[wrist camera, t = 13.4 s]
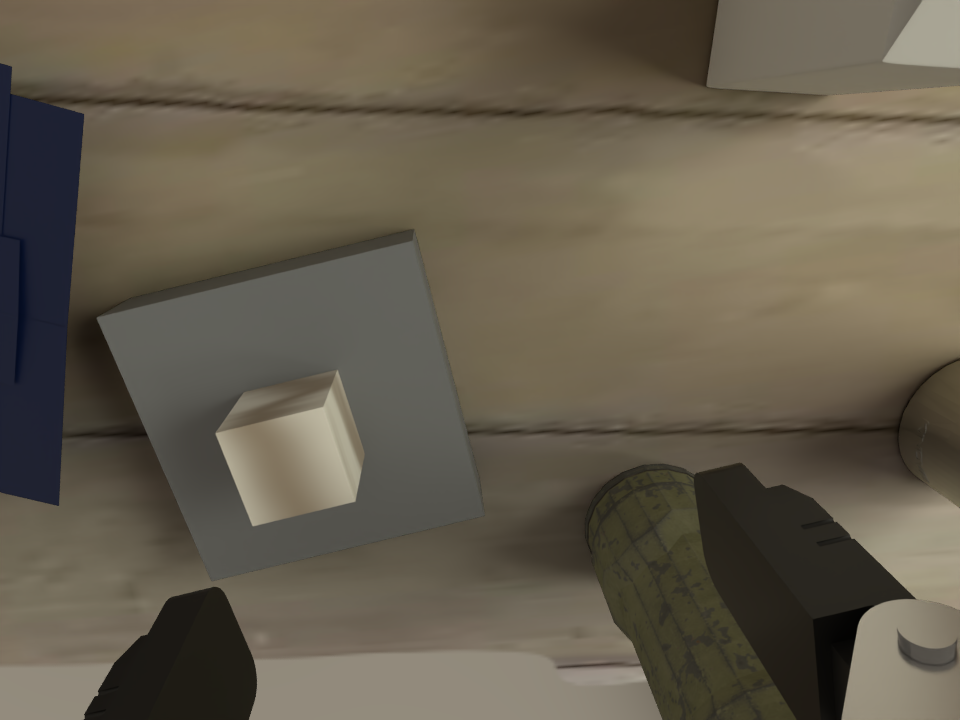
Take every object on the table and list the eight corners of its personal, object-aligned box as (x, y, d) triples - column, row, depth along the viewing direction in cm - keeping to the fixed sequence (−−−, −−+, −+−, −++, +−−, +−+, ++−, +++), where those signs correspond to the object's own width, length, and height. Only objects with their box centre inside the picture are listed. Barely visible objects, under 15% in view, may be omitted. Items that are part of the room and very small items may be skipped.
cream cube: (337, 369, 35) (323, 407, 31) (364, 453, 37) (355, 501, 32) (243, 392, 35) (215, 433, 31) (275, 475, 37) (252, 526, 32)
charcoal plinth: (414, 229, 37) (412, 240, 33) (480, 481, 43) (484, 515, 39) (130, 298, 37) (96, 317, 34) (230, 541, 43) (211, 581, 39)
